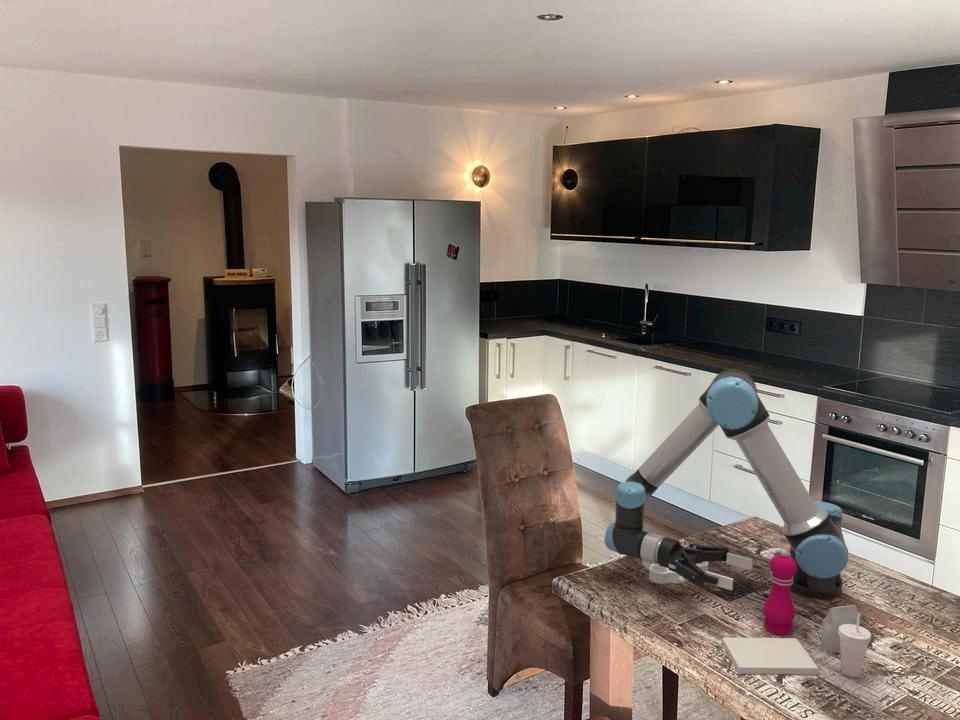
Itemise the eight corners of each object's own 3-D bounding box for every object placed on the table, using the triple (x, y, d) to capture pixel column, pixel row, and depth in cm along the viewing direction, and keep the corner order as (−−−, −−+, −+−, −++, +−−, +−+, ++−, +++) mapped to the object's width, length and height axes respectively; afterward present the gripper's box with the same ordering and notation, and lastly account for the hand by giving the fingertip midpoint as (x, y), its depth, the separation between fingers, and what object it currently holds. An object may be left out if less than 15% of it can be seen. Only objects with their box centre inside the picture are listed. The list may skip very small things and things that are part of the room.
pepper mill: (796, 638, 182) (804, 557, 178) (764, 634, 183) (770, 554, 180) (791, 622, 189) (797, 545, 185) (759, 619, 190) (766, 542, 187)
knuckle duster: (684, 558, 225) (718, 579, 212) (632, 568, 218) (664, 591, 205) (685, 547, 224) (719, 568, 211) (632, 557, 217) (664, 579, 204)
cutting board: (795, 644, 179) (796, 638, 179) (817, 674, 167) (818, 668, 167) (721, 643, 179) (722, 637, 179) (738, 673, 167) (739, 667, 167)
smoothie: (853, 684, 164) (860, 622, 161) (827, 668, 170) (833, 609, 167) (873, 676, 167) (880, 615, 164) (847, 661, 173) (853, 602, 170)
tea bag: (857, 649, 177) (861, 609, 175) (831, 653, 176) (835, 612, 174) (845, 641, 181) (849, 601, 179) (820, 644, 179) (824, 604, 177)
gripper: (681, 548, 213) (759, 571, 200) (639, 581, 193) (722, 608, 181) (682, 522, 211) (761, 543, 198) (640, 553, 192) (724, 578, 179)
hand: (743, 574), depth 189 cm, fingers open, 13 cm apart
